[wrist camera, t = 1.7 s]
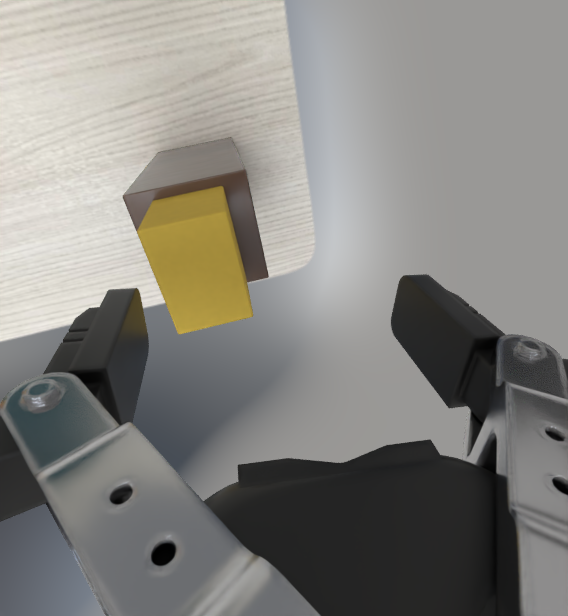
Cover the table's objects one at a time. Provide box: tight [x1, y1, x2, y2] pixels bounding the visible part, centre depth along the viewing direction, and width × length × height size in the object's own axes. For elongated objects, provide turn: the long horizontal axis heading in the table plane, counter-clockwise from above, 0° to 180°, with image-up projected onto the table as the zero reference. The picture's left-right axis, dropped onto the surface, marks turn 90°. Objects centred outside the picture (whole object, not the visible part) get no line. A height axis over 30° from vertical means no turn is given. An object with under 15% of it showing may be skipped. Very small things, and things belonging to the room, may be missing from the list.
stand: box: [123, 137, 269, 282], centre depth 25 cm, size 6×6×14 cm
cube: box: [137, 186, 253, 334], centre depth 17 cm, size 5×4×4 cm
